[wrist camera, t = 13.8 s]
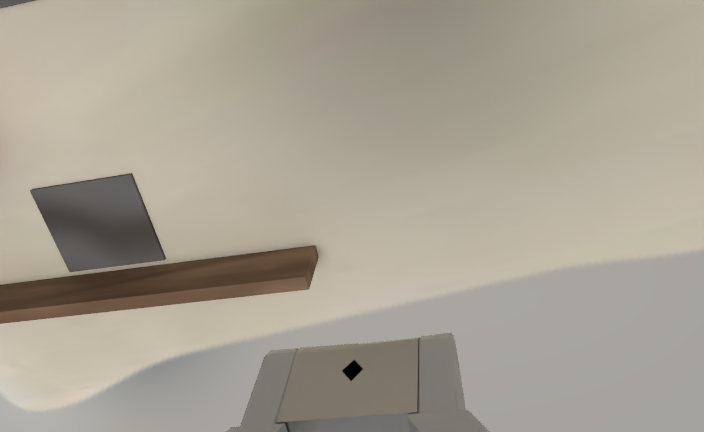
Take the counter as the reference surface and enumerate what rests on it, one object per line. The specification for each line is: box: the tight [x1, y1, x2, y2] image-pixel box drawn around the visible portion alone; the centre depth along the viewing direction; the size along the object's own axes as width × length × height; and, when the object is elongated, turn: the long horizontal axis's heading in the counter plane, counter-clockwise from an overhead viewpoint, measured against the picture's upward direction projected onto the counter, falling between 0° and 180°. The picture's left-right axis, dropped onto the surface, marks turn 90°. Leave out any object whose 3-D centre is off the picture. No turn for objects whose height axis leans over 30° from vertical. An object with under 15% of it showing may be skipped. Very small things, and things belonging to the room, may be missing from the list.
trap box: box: [0, 0, 318, 324], centre depth 37 cm, size 29×30×6 cm
